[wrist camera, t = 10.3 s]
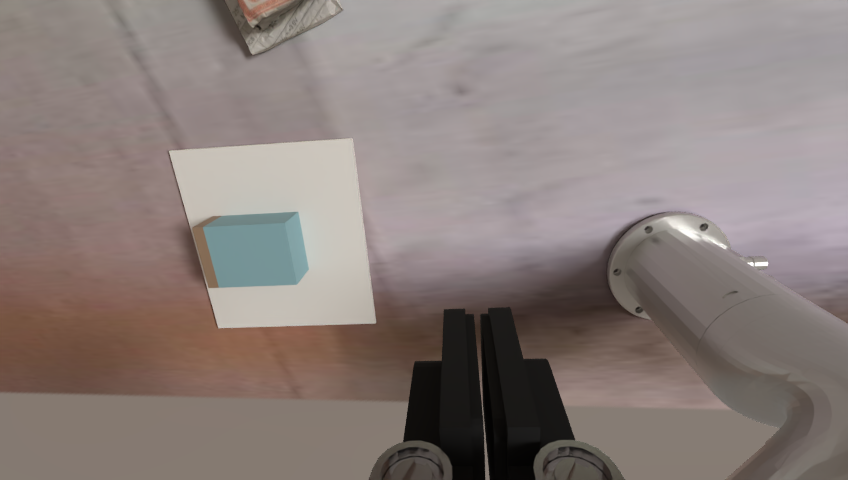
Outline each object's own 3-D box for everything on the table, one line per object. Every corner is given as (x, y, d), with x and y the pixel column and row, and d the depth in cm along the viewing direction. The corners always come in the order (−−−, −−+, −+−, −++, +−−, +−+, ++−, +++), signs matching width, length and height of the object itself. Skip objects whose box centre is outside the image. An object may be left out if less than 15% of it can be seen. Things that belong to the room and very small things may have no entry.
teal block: (284, 223, 43) (191, 227, 44) (297, 284, 45) (208, 288, 46) (298, 211, 47) (212, 216, 48) (308, 269, 49) (226, 272, 50)
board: (352, 137, 44) (351, 138, 44) (376, 321, 51) (375, 323, 51) (171, 150, 46) (168, 150, 45) (219, 326, 53) (218, 328, 53)
